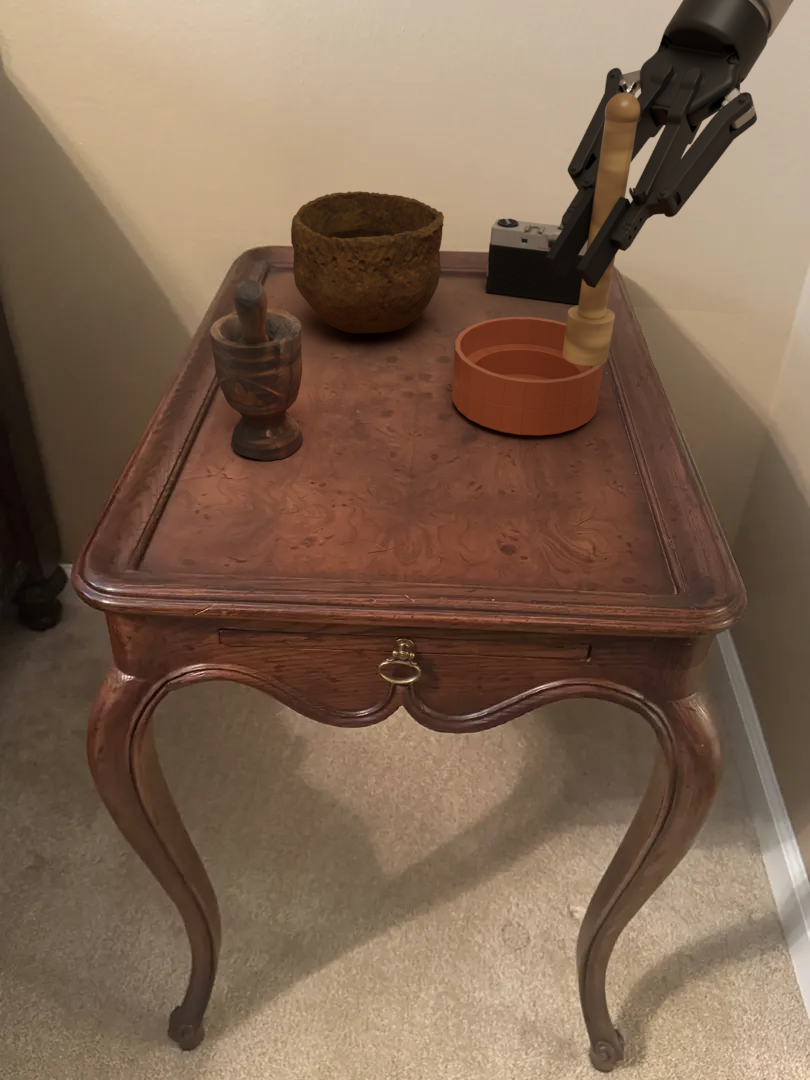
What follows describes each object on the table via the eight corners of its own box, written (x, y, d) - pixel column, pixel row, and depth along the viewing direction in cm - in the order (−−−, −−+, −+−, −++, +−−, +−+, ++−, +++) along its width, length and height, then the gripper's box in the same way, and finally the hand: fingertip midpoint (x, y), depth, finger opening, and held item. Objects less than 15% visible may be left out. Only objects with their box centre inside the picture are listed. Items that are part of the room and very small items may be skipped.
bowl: (453, 355, 109) (460, 235, 100) (301, 364, 107) (294, 240, 98) (427, 297, 124) (431, 186, 115) (292, 303, 122) (285, 190, 113)
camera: (594, 286, 128) (604, 217, 121) (577, 312, 121) (586, 240, 115) (504, 271, 132) (508, 203, 126) (482, 294, 126) (486, 224, 120)
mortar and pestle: (332, 468, 89) (325, 274, 76) (251, 490, 85) (229, 290, 73) (289, 417, 97) (276, 233, 85) (213, 434, 93) (188, 246, 81)
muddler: (609, 349, 80) (654, 89, 67) (604, 369, 77) (651, 100, 64) (565, 343, 81) (601, 85, 68) (559, 362, 78) (595, 96, 65)
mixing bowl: (603, 383, 104) (613, 327, 100) (586, 452, 92) (596, 392, 88) (469, 363, 108) (473, 309, 104) (435, 427, 95) (438, 368, 91)
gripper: (826, 65, 69) (663, 325, 70) (657, 39, 78) (515, 270, 79) (814, -10, 63) (637, 276, 64) (633, -29, 72) (479, 222, 73)
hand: (570, 272), depth 71 cm, fingers closed on muddler, 2 cm apart
